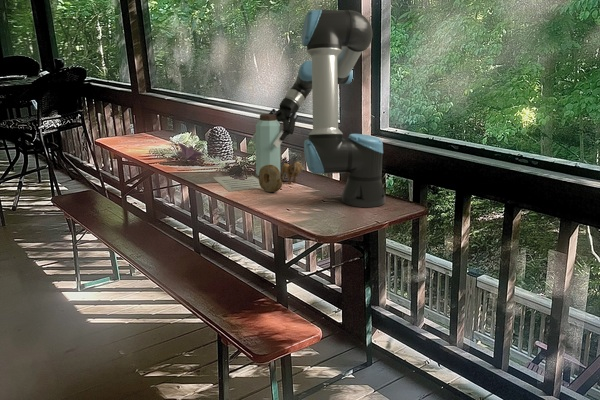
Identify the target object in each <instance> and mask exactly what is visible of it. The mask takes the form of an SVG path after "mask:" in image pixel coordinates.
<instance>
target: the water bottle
mask: <svg viewBox="0 0 600 400" xmlns="http://www.w3.org/2000/svg"><path fill="white" fill-rule="evenodd" d="M255 132H256V143H255V174H256V176H257V177H258V176H259V172H260V169H261V168H262V167H263V166H265V165H274V166H276V167H277V168H278V169H279V171H280V172H281V144H280V145H279V147H278V148H276V147H275V146H274V145H273V143H274V141H275V140H276V138H277V137H278V135H279V134H280V132H281V123H280V122H278V121H277V119H276V115H274V114H269V113H264V114H259V120H258V121H257V123H255Z"/></svg>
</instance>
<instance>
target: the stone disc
mask: <svg viewBox="0 0 600 400" xmlns="http://www.w3.org/2000/svg"><path fill="white" fill-rule="evenodd" d="M280 175H281V170H280V171H279V169H278V168H277V167H276V166H274V165H265V166H263V167H262V168H261V169H260V172H259V177H258V180H259V184H260V186H261V188H260V189H262V190H263V191H264V192H267V193H276V192H278V191H280V190H281V189H282V186H283V181H281V179H282V177H280Z"/></svg>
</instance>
